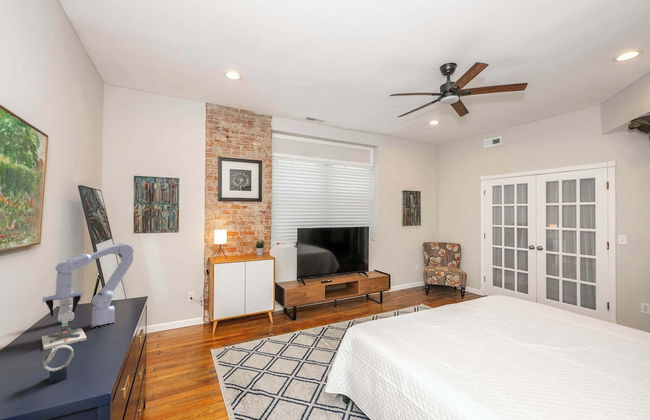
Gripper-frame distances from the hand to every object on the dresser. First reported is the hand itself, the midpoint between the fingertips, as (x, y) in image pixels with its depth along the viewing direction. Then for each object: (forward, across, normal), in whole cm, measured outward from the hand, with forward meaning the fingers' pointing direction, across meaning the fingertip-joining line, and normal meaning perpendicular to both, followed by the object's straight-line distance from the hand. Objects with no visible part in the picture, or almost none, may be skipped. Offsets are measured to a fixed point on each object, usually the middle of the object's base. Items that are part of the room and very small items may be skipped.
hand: (62, 313), depth 136 cm
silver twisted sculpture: (+10, -3, -19) cm, 22 cm away
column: (+3, 0, +10) cm, 10 cm away
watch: (+10, +5, +51) cm, 52 cm away
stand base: (+10, 0, +10) cm, 14 cm away
